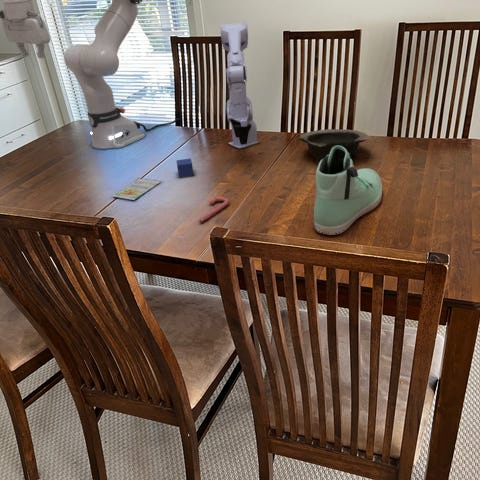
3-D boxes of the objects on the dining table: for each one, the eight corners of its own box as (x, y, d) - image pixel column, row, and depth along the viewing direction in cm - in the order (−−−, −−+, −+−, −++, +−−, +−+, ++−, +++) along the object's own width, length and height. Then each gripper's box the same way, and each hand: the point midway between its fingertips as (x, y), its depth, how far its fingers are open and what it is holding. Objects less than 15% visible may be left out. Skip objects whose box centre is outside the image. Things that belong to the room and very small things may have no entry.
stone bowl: (326, 173, 160) (325, 146, 155) (286, 156, 180) (285, 132, 176) (384, 155, 168) (385, 129, 164) (340, 141, 189) (339, 117, 184)
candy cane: (186, 219, 140) (185, 215, 139) (217, 198, 150) (217, 194, 149) (202, 224, 137) (201, 219, 136) (233, 202, 147) (232, 198, 146)
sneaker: (389, 187, 148) (396, 123, 138) (356, 242, 123) (361, 168, 112) (346, 181, 154) (350, 119, 144) (306, 232, 129) (307, 161, 118)
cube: (178, 172, 171) (176, 160, 168) (192, 170, 171) (190, 158, 169) (179, 177, 166) (177, 165, 164) (193, 175, 167) (192, 163, 165)
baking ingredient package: (111, 195, 156) (139, 178, 167) (112, 196, 156) (139, 179, 168) (133, 199, 152) (160, 181, 164) (133, 200, 153) (160, 182, 164)
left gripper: (48, 10, 150) (60, 56, 158) (12, 10, 161) (25, 53, 169) (30, 13, 146) (43, 61, 153) (-6, 13, 157) (8, 57, 164)
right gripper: (223, 98, 169) (226, 135, 176) (231, 109, 157) (234, 148, 164) (242, 96, 170) (244, 133, 178) (252, 106, 158) (254, 145, 165)
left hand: (33, 57), depth 161 cm, fingers open, 8 cm apart
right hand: (241, 140), depth 171 cm, fingers open, 7 cm apart
